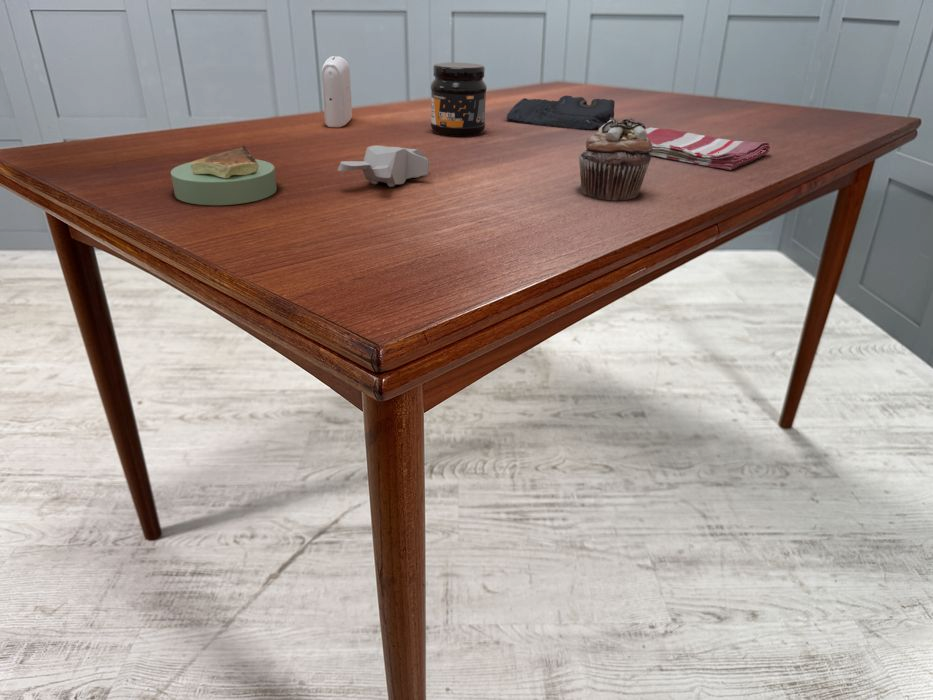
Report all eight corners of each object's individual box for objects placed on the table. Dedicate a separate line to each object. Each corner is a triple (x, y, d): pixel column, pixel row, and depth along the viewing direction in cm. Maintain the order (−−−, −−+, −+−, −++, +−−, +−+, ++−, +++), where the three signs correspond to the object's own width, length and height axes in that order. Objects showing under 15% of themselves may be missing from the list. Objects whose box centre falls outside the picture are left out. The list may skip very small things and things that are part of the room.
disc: (163, 186, 91) (159, 164, 89) (256, 174, 97) (254, 154, 96) (191, 211, 81) (186, 187, 80) (291, 196, 88) (289, 173, 87)
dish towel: (732, 171, 106) (736, 154, 105) (604, 148, 120) (606, 132, 118) (769, 155, 118) (773, 139, 116) (648, 135, 131) (650, 121, 130)
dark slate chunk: (523, 110, 153) (524, 88, 151) (618, 119, 146) (621, 96, 144) (500, 121, 141) (501, 97, 138) (603, 131, 133) (606, 106, 131)
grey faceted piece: (443, 147, 98) (391, 155, 85) (441, 183, 100) (390, 195, 87) (387, 140, 101) (329, 146, 88) (386, 174, 103) (329, 185, 90)
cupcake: (620, 181, 99) (630, 111, 94) (658, 199, 91) (671, 123, 86) (563, 186, 96) (570, 113, 91) (597, 204, 88) (606, 126, 83)
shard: (245, 156, 94) (243, 143, 93) (290, 163, 92) (288, 149, 91) (189, 173, 85) (186, 159, 84) (237, 181, 83) (235, 166, 82)
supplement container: (419, 132, 128) (419, 64, 122) (450, 124, 136) (451, 60, 130) (465, 139, 123) (467, 69, 117) (495, 131, 131) (498, 65, 125)
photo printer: (344, 128, 130) (340, 59, 124) (322, 127, 130) (317, 58, 124) (354, 118, 139) (351, 54, 133) (334, 118, 139) (329, 53, 133)
